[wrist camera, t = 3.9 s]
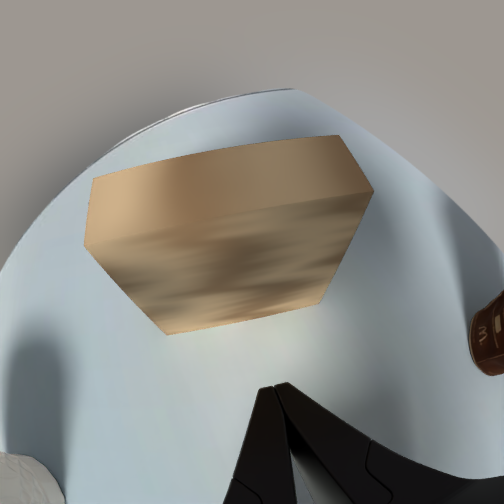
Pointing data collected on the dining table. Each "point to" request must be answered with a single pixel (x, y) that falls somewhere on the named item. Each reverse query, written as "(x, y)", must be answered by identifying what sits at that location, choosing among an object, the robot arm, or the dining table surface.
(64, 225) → the dining table surface
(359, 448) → the robot arm
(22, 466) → the white cup
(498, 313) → the coffee cup
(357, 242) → the dining table surface
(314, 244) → the oak block
